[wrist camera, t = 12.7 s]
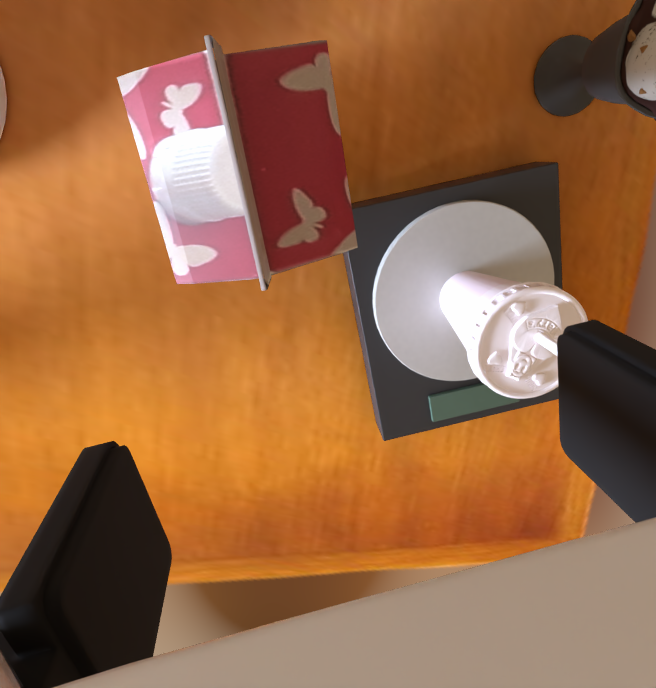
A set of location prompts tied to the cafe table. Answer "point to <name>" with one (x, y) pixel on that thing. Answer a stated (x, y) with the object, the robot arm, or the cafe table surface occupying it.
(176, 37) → the cafe table surface
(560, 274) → the scale
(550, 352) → the smoothie
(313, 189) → the juice carton
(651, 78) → the sundae
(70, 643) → the robot arm
